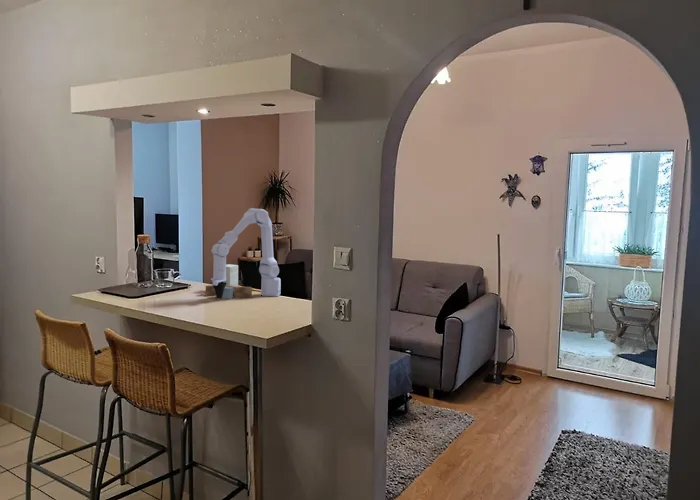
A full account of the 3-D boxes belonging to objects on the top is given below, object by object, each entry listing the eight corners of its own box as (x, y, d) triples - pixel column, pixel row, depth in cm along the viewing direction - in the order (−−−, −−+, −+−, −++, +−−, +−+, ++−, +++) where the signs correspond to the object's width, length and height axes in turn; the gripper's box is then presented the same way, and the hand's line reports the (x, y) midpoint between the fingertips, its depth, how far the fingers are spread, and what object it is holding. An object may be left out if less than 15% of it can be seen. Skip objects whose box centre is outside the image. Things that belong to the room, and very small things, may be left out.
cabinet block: (232, 297, 260) (233, 287, 259) (230, 299, 255) (230, 288, 255) (217, 296, 260) (217, 286, 259) (214, 298, 256) (214, 288, 255)
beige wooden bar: (251, 296, 264) (252, 287, 263) (250, 297, 260) (250, 288, 260) (207, 293, 265) (208, 284, 265) (205, 295, 262) (205, 286, 261)
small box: (227, 288, 281) (228, 264, 280) (238, 289, 279) (238, 265, 278) (218, 291, 274) (219, 265, 272) (229, 292, 272) (230, 266, 270)
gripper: (216, 266, 257) (215, 294, 258) (206, 271, 243) (205, 300, 244) (230, 267, 257) (230, 295, 258) (221, 271, 242) (221, 301, 244)
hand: (219, 298), depth 251 cm, fingers closed
